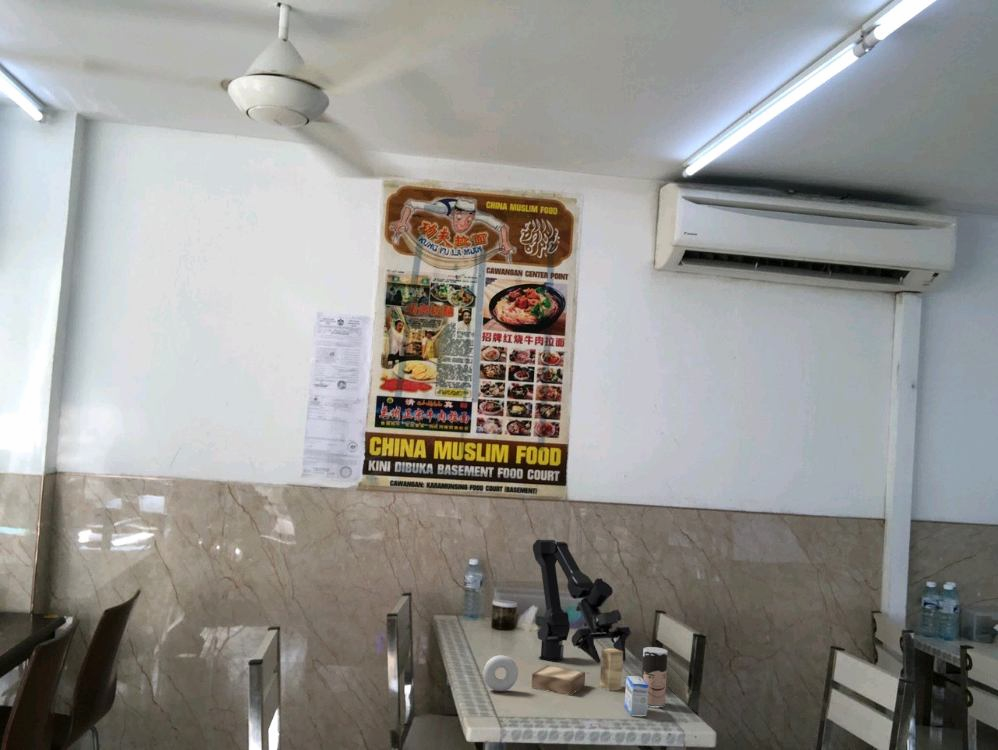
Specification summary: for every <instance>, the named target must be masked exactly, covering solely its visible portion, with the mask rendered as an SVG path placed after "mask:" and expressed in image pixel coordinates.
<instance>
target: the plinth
mask: <svg viewBox="0 0 998 750" xmlns="http://www.w3.org/2000/svg"><path fill="white" fill-rule="evenodd" d="M531 676H532V677H531V687H535V688H539V689H538V690H540V689H544V690H543V691H545V690H549V691H548V692H550V691H553V692H552V693H555V692H560V693H564V694H563V695H565V694H568V695H567V696H572V695H573V694H575V693H576V692H578V691H579V690H581V689H582V688H584V687H585V686H584V685H586V671H582V670H576V669H571V668H566V667H560V666H554V665H549V664H548V665H547V664H546V665H545V666H544V667H542V668H540V669H538V670H536V671H535V672H533V673H532V674H531ZM583 686H584V687H583ZM581 687H582V688H581ZM535 688H534V689H535ZM580 688H581V689H580ZM578 689H579V690H578ZM577 690H578V691H577ZM575 691H576V692H575ZM574 692H575V693H574ZM560 693H559V694H560ZM572 693H573V694H572ZM571 694H572V695H571Z"/></svg>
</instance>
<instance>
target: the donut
mask: <svg viewBox="0 0 998 750" xmlns="http://www.w3.org/2000/svg"><path fill="white" fill-rule="evenodd" d="M500 668H503V669H504V670H505V671H506V673H505V676H504V677H503V678H498V677H497V675H496V671H497V670H498V669H500ZM482 675H483V680H484V683H485V684H486V685H487V686H488V687H489V689H491V690H493V691H494V692H495V691H496V692H499V691H500V692H506V691H508V690H510V689H511V688H512V687H514V686H515V684H516V682H517V680H518V676H519V667H518V666H517V664H516V662H515V661H514V660H513V658H510V657H509V656H506V655H503V654H500V655H495V656H492V657H490V659H489V660H488V661H487V662H486V663H485V665H484V668H483V673H482Z"/></svg>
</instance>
